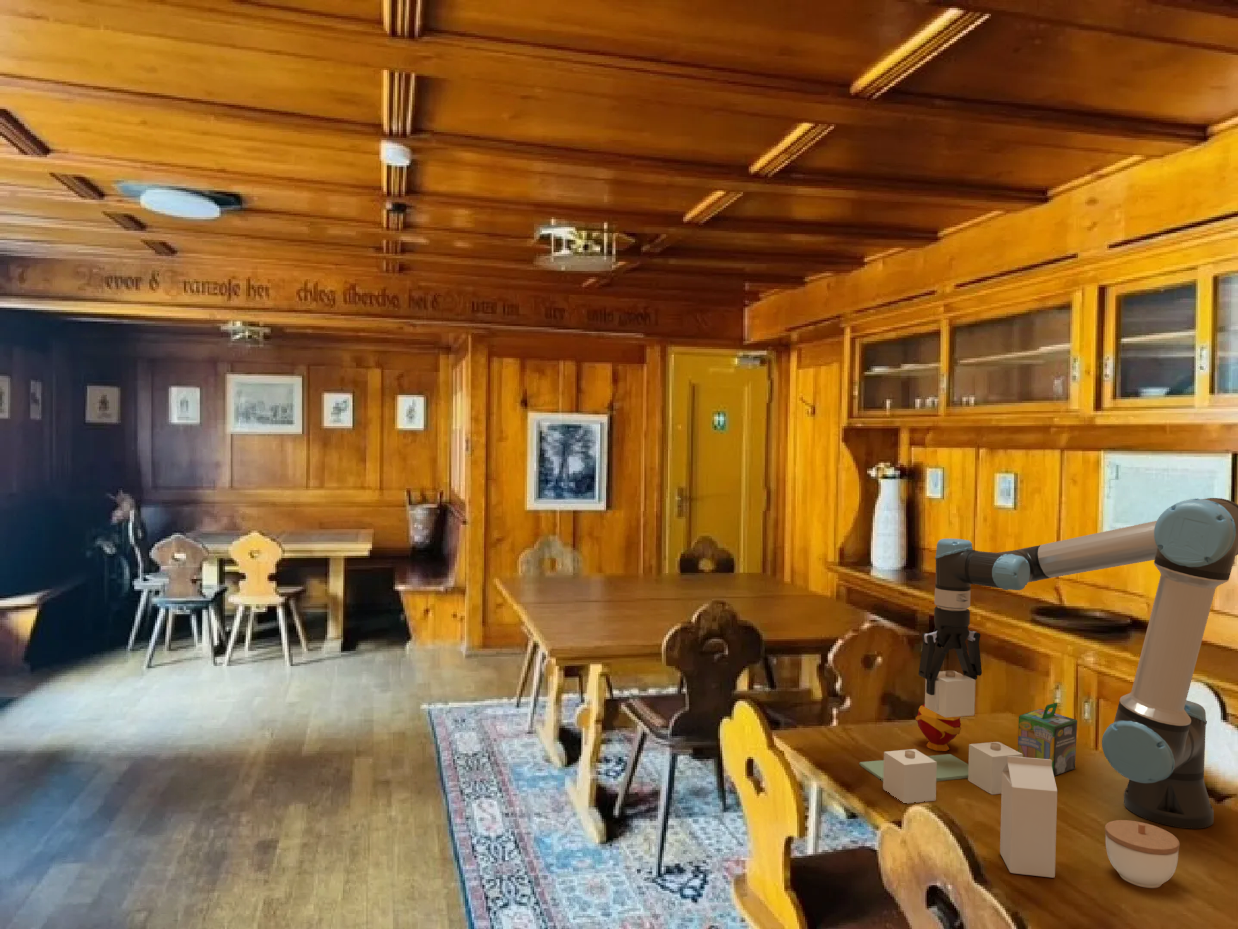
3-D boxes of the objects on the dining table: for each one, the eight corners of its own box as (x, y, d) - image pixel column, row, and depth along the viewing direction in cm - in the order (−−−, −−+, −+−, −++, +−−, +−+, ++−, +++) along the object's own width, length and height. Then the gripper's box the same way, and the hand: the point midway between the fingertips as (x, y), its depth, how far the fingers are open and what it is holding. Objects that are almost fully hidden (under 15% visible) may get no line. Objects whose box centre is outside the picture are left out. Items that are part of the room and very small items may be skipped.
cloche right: (1021, 791, 177) (1022, 749, 177) (991, 794, 176) (992, 752, 175) (997, 777, 185) (998, 737, 184) (968, 780, 183) (969, 739, 183)
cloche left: (935, 800, 172) (936, 757, 172) (903, 804, 170) (904, 760, 170) (914, 786, 179) (915, 744, 179) (883, 789, 177) (884, 747, 177)
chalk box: (1038, 756, 198) (1040, 694, 198) (1077, 769, 190) (1078, 705, 190) (1015, 763, 193) (1016, 700, 193) (1053, 777, 185) (1055, 711, 185)
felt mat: (984, 776, 185) (984, 773, 185) (889, 785, 179) (889, 783, 179) (950, 756, 197) (950, 754, 197) (859, 765, 191) (859, 762, 191)
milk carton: (1055, 879, 141) (1058, 767, 141) (1009, 874, 143) (1012, 763, 142) (1042, 858, 148) (1045, 752, 148) (999, 854, 150) (1002, 749, 149)
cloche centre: (953, 705, 194) (954, 666, 194) (974, 715, 187) (975, 675, 187) (924, 707, 192) (925, 668, 192) (945, 717, 185) (946, 677, 185)
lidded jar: (1149, 863, 147) (1151, 810, 147) (1193, 896, 137) (1195, 839, 136) (1090, 863, 147) (1091, 810, 147) (1129, 896, 136) (1131, 839, 136)
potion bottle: (906, 741, 206) (908, 681, 206) (941, 738, 210) (943, 678, 209) (934, 757, 196) (936, 693, 196) (970, 753, 200) (972, 690, 199)
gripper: (922, 612, 183) (919, 715, 183) (1002, 609, 188) (999, 709, 189) (902, 605, 190) (900, 705, 191) (979, 602, 195) (976, 699, 196)
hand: (949, 707), depth 190 cm, fingers closed on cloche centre, 7 cm apart
